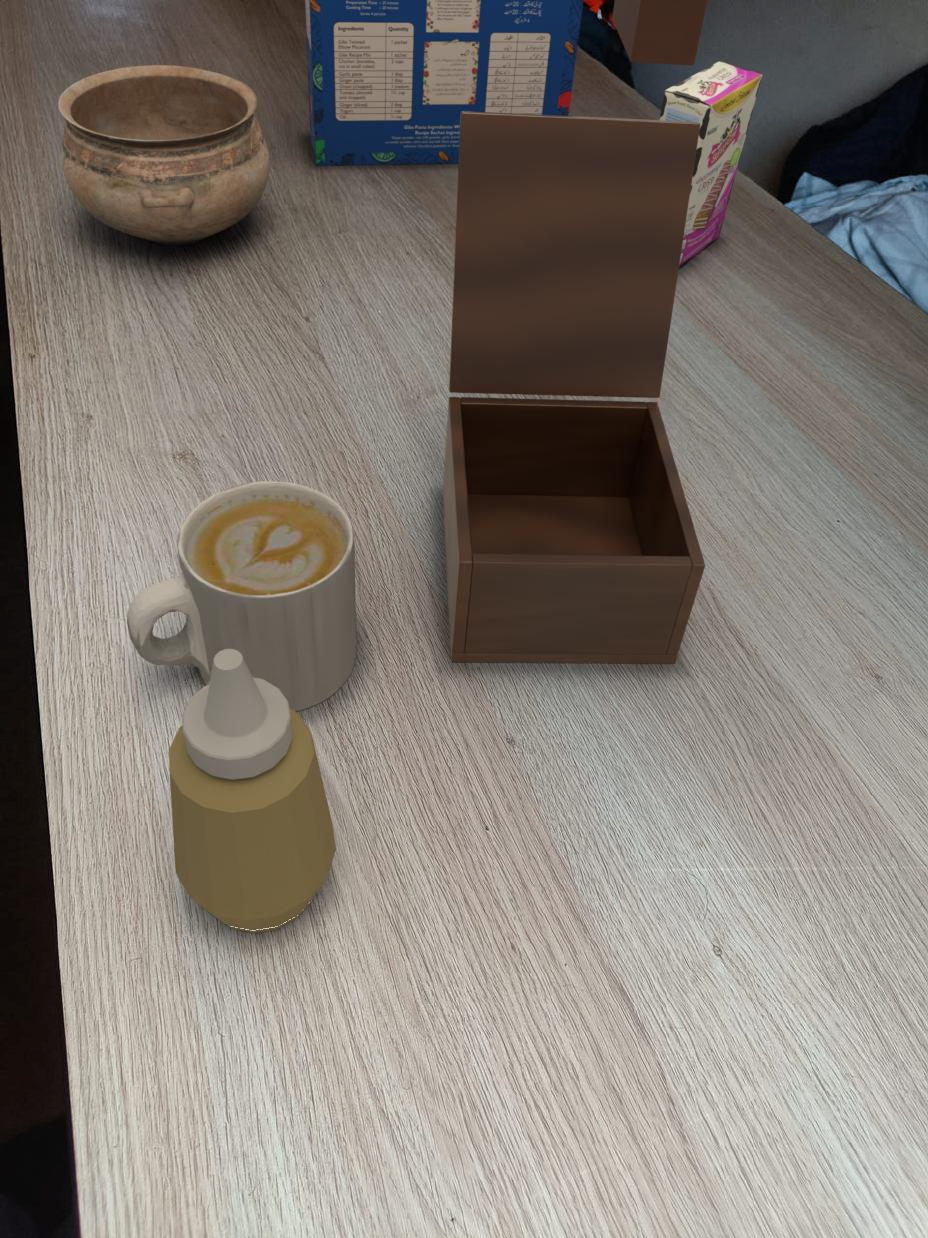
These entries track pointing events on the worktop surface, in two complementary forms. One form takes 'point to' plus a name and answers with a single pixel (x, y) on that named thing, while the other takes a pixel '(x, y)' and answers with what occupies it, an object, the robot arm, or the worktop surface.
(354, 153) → the pasta box
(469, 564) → the chest
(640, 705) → the worktop surface
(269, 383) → the worktop surface
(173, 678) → the worktop surface
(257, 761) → the squeeze bottle
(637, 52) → the chocolate bar
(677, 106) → the candy bar box
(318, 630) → the coffee mug
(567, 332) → the chest lid
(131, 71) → the cooking pot
